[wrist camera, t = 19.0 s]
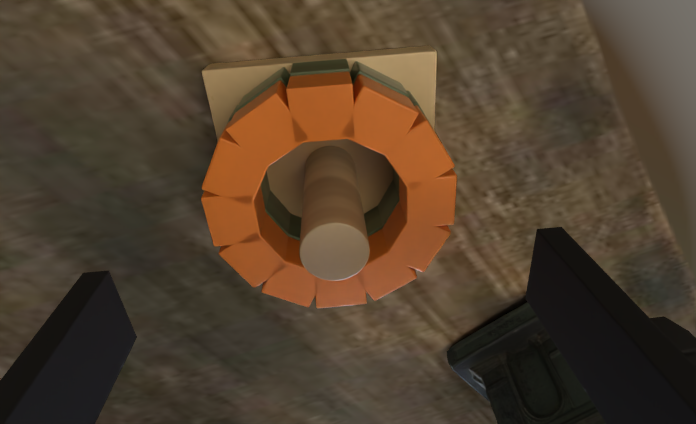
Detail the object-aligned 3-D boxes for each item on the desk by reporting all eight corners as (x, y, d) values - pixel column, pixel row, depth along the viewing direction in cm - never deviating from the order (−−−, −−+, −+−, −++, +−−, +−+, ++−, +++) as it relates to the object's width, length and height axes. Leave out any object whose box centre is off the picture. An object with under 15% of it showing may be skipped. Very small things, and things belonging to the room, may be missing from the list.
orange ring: (439, 270, 22) (450, 296, 20) (239, 288, 22) (232, 316, 20) (449, 62, 17) (464, 73, 15) (188, 84, 17) (173, 98, 15)
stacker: (425, 231, 25) (470, 344, 17) (249, 246, 24) (219, 368, 17) (429, 44, 20) (495, 93, 12) (208, 63, 20) (141, 123, 12)
